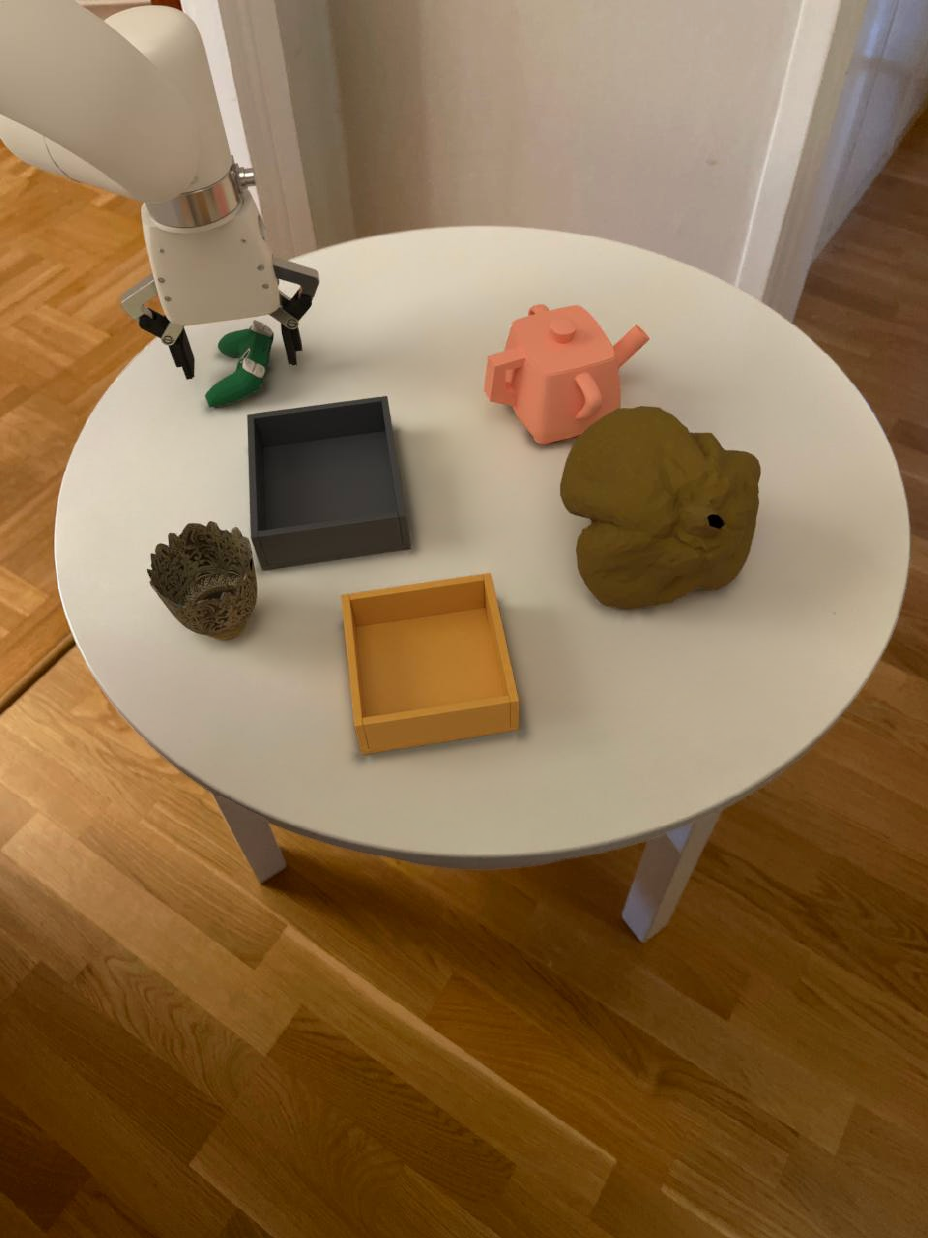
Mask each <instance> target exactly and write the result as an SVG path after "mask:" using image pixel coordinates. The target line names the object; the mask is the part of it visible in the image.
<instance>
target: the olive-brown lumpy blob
mask: <svg viewBox="0 0 928 1238" xmlns="http://www.w3.org/2000/svg"><path fill="white" fill-rule="evenodd" d="M761 474H762V467H761V464H760V461H759V459H758V458H757V457H756V456H755V455H754V454H753V453H750V452H749V451H746V450H745V451H744V450H737V449H725V448H724V447H723V446H722V444H721V443H720V441H719V439H718V438H717V437H716V436H715V435H714V434H713V433H712V432H690V430H689V429H688V427H687V426H686V425H684V424H683V423H682V422H681V421H680V420H679V419H678V418H677V416H675V415H674V414H671V413H669V412H667V411H666V410H664V409H662V408H661V407H660V406H646V405H645V406H644V405H640V406H635V407H633V408H632V407H631V408H629V407H628V408H627V407H625V408H623V407H620V408H618V409H616V410H614V411H612V412H610V413H609V414H607V415H605V416H604V417H602V418H601V419H599V420H598V421H596V422H595V423H593V424H592V425H590V426H589V427H588V428H587V429H586V430H585V431H584V432H583V433H582V434H581V435H579V436H578V437H577V439H576V440H575V441H574V442H573V445H572V446H571V448H570V450H569V452H568V455H567V458H566V460H565V463H564V467H563V471H562V475H561V479H560V483H559V496H560V499H561V501H562V504H563V506H564V508H565V510H566V511H567V512H568V513H569V514H571V515H574V516H577V517H580V518H583V519H587V520H590V523H589V524H588V526H586V527H585V528H582V529H581V531H580V534H579V535H578V537H577V542H576V546H575V547H576V548H575V552H576V553H575V554H576V563H577V569H578V573H579V576H580V577H581V580H582V581H583V583H584V585H585V586H586V587H587V589H588V590H589V591H590V593H591V594H592V595H593V596H594V597H595V598H596V599H597V601H599V603H600V604H601V605H604V606H605V607H609V608H614V609H618V610H626V611H627V610H628V611H629V610H638V609H644V608H645V609H646V608H651V607H655V606H660V605H661V606H662V605H666V604H670V603H673V602H675V601H677V600H678V599H681V598H683V597H685V596H687V595H689V594H690V593H692V592H693V591H695V590H698V589H700V590H703V591H717V590H720V589H722V588H725V587H726V586H727V585H728V584H730V583H731V582H732V581H734V580H735V579H736V578H737V576H738V575H739V574H740V573H741V571H742V570H743V568H744V566H745V565H746V562H747V560H748V557H749V555H750V553H751V549H752V545H753V541H754V536H755V530H756V525H757V515H758V512H759V510H758V509H759V506H760V500H759V499H760V498H759V494H760V489H759V483H760V478H761V476H762V475H761Z"/></svg>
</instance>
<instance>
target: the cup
mask: <svg viewBox="0 0 928 1238" xmlns="http://www.w3.org/2000/svg"><path fill="white" fill-rule="evenodd" d="M167 538H168V544H165V543H161V542H160V543H158V544H156V545H155V549H154V553H153V552H151V553H150V555H149V557H150V568H146V572H147V573H146V574H147V575H148V577H149V579H150V580H149V581H148V583H149V585H150V587H151V589H153V591H154V592H155V593H156V595H157V596H158V598H159V599H160V600H161V601H162V603H163V604H164V606H165V607H166V608H167V610H168V611H169V613H171V614H172V616H173V617H174V618H175V620H177V622H178V623H179V624H181V625H182V626H183V627H184V628H185V629H187V630H189V631H191V632H193V633H195V634H198V635H201V636H208V638H211V639H213V640H217V641H227V640H231V639H234V638H236V637H237V636H238V635H240V634H241V633H242V632H243V631H244V630H245V628H246V626H247V624H248V620H249V618H251V616H252V614H253V612H254V611H255V608H256V605H257V602H258V601H257V600H258V580H257V579H258V578H257V573H256V567H255V561H254V555H253V550H252V545H251V541H250V539H249V538H248V537H247V536H244V535H243V533H242V532H241V530H240V529H239V527H237V526H234V527H232V528H231V530H230V531H229V530H228V529H224V530H223V529H221V528H220V526H219V524H218V523H217V522H215V521H213V520H209V521H208V522H207V524H206V525H204V524H202V523H198V522H189V523H187V524H186V525H185V526H184V528H183V529H182V530H181V532H180V534H177V533H176V532H169V533H168V534H167Z"/></svg>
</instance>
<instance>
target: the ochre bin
mask: <svg viewBox="0 0 928 1238" xmlns="http://www.w3.org/2000/svg"><path fill="white" fill-rule="evenodd" d="M340 598H341V599H340V600H341V609H342V618H343V628H344V638H345V648H346V658H347V669H348V677H349V687H350V688H349V689H350V698H351V708H352V709H351V710H352V719H353V727H354V731H355V734H356V738H357V742H358V745H359V746H358V747H359V749H360V752H361V755H368V754H375V753H376V754H377V753H381V752H387V751H394V750H401V749H408V748H412V747H418V746H419V747H420V746H426V745H433V744H439V743H444V742H445V743H446V742H450V741H451V742H452V741H458V740H464V739H470V738H478V737H482V736H489V735H496V734H502V733H503V734H504V733H508V732H515V731H519V729H520V728H519V727H520V698H519V693H518V689H517V688H518V687H517V683H516V680H515V675H514V670H513V666H512V662H511V657H510V653H509V647H508V643H507V638H506V634H505V629H504V626H503V625H504V624H503V620H502V617H501V612H500V607H499V604H498V603H499V602H498V599H497V594H496V589H495V585H494V580H493V575H492V573H491V572H487V573H481V574H480V573H479V574H474V575H473V574H472V575H468V576H466V575H465V576H459V577H454V578H446V579H440V580H439V579H438V580H432V581H426V582H425V581H424V582H419V583H412V584H406V585H399V586H392V587H386V588H379V589H373V590H365V591H358V592H352V593H344V594H341V595H340Z"/></svg>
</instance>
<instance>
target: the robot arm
mask: <svg viewBox="0 0 928 1238" xmlns="http://www.w3.org/2000/svg"><path fill="white" fill-rule="evenodd" d="M222 116H223V115H222V111H221V109H220V104H219V100H218V97H217V92H216V87H215V84H214V80H213V76H212V71H211V68H210V64H209V60H208V56H207V52H206V48H205V44H204V41H203V37H202V34H201V32H200V30H199V28H198V26H197V24H196V22H195V21H194V20H193V19H192V18H191V17H190V16H189V15H188V14H187V13H185V12H184V11H182V10H180V9H178V8H175V7H172V6H168V5H157V4H156V5H154V4H153V5H141V6H135V7H129V8H127V9H124V10H120V11H118V12H116V13H114V14H112V15H110V16H109V17H107V18H105V20H103V19H102V18H100V17H99V16H97V15H96V14H95V13H93V12H92V11H91V10H89V9H88V8H87V7H85V6H84V5H82V4H80V3H79V2H77V1H76V0H0V140H1V142H2V143H3V145H4V146H5V147H6V148H7V149H8V150H9V151H10V152H11V153H12V154H13V155H14V156H15V157H16V158H18V159H19V160H21V161H22V162H24V163H26V164H27V165H29V166H30V167H33V168H36V169H38V170H40V171H43V172H45V173H48V174H52V175H55V176H58V177H61V178H64V179H67V180H70V181H73V182H75V183H78V184H84V185H87V186H91V187H93V188H96V189H99V190H102V191H105V192H108V193H111V194H115V195H117V196H120V197H122V198H126V199H128V200H132V201H135V202H138V203H143V204H142V206H141V208H140V212H141V222H142V231H143V238H144V242H145V247H146V252H147V253H146V254H147V257H148V261H149V264H150V268H151V269H150V270H151V274H149V275H147V276H146V277H145V278H143V279H142V280H140V281H139V282H137V283H136V284H135V285H133V286H132V287H131V288H129V289H127V290H125V292H123V293H122V294H121V296H120V303H119V306H120V309H121V310H123V311H124V312H125V314H126V315H128V316H129V317H130V318H131V319H132V320H133V321H136V323H138V326H139V327H140V329H142V330H144V331H146V332H147V333H149V334H151V335H154V336H155V337H157V338H159V339H160V341H161V343H162V344H163V345H165V346H168V349H169V352H170V355H171V357H172V360H173V362H174V365H175V367H176V368H181V369H182V372H183V374H184V377H185V380H186V381H190V380H193V379H194V378H195V361H196V358H195V356H194V352H193V349H192V346H191V344H190V341H189V338H188V335H187V332H186V328H185V326H187V327H188V326H189V327H190V326H199V325H206V324H207V325H208V324H214V323H222V322H229V321H236V320H237V321H238V320H244V319H250V318H251V319H253V318H258V317H264V316H267V315H268V316H270V317H272V318H273V319H274V320H276V321H277V322H278V323H280V332H281V337H282V341H283V345H284V349H285V353H286V357H287V361H288V365H290V366H292V367H293V366H298V360H297V352H302V351H303V344H302V343H303V342H302V337H301V333H300V329H299V325H300V321H301V320H302V318H303V317H304V316H305V315H306V313H308V311H309V310H310V308H311V307H312V306H313V300H314V298H315V296H316V293H317V291H318V288H319V286H320V275H319V271H318V270H317V269H316V268H313V267H310V266H306V265H302V264H300V263H297V262H292V261H289V260H286V259H282V258H279V257H276V256H275V255H274V252H273V248H272V246H271V242H270V239H269V236H268V232H267V229H266V225H265V224H264V221H263V218H262V215H261V212H260V210H259V207H258V205H257V204H256V201H255V199H254V197H253V195H252V193H251V191H250V190H249V188H250V187H257V186H258V183H257V178H256V177H257V176H256V172H255V168H254V167H247V168H245V167H244V166H239V164H238V162H237V163H235V159H234V155H232V152H231V149H230V143H229V140H228V136H227V132H226V129H225V124H224V120H223V117H222ZM281 280H282V281H284V282H288V283H292V284H294V285H298V286H299V288H298V289H297V291H295V293H294V294H293V296H292V297H290V296H289V295H287V294H286V293H284V292H283V291H281V290H280V288H279V287H280V281H281ZM157 296H158V298H159V302H160V305H161V308H162V311H163V313H164V315H163V314H161V313H159V312H158V311H155V310H153V309H152V308H150V307H147V306H146V303H147V302H149V301H151V300H152V299H154V298H155V297H157Z"/></svg>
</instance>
